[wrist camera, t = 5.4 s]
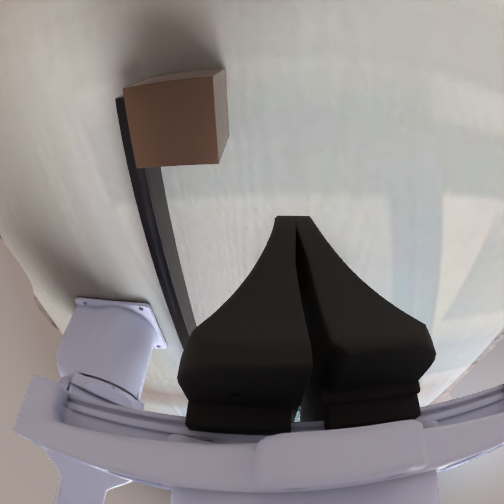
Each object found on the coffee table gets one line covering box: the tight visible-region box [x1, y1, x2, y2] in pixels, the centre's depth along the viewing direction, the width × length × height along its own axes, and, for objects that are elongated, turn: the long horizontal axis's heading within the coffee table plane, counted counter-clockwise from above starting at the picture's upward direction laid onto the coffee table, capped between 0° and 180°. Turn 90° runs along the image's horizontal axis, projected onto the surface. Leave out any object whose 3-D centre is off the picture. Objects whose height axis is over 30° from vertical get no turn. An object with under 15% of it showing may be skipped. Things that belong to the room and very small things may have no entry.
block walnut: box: [123, 69, 229, 168], centre depth 14 cm, size 4×4×4 cm
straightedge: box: [115, 95, 196, 349], centre depth 27 cm, size 1×40×2 cm, turn 1°
